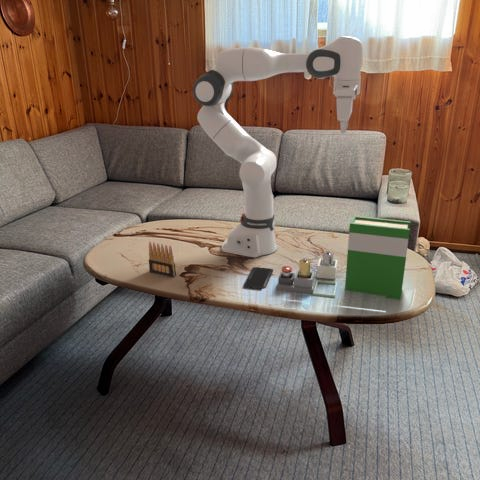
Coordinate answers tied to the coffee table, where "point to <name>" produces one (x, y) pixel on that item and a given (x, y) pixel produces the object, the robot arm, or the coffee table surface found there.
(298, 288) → the grey socket holder
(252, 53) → the robot arm
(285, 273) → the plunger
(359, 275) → the hardback book
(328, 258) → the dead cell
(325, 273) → the white square bin
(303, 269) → the cell
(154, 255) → the ammunition clip
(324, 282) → the pale green rectangular frame
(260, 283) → the phone
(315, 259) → the coffee table surface
